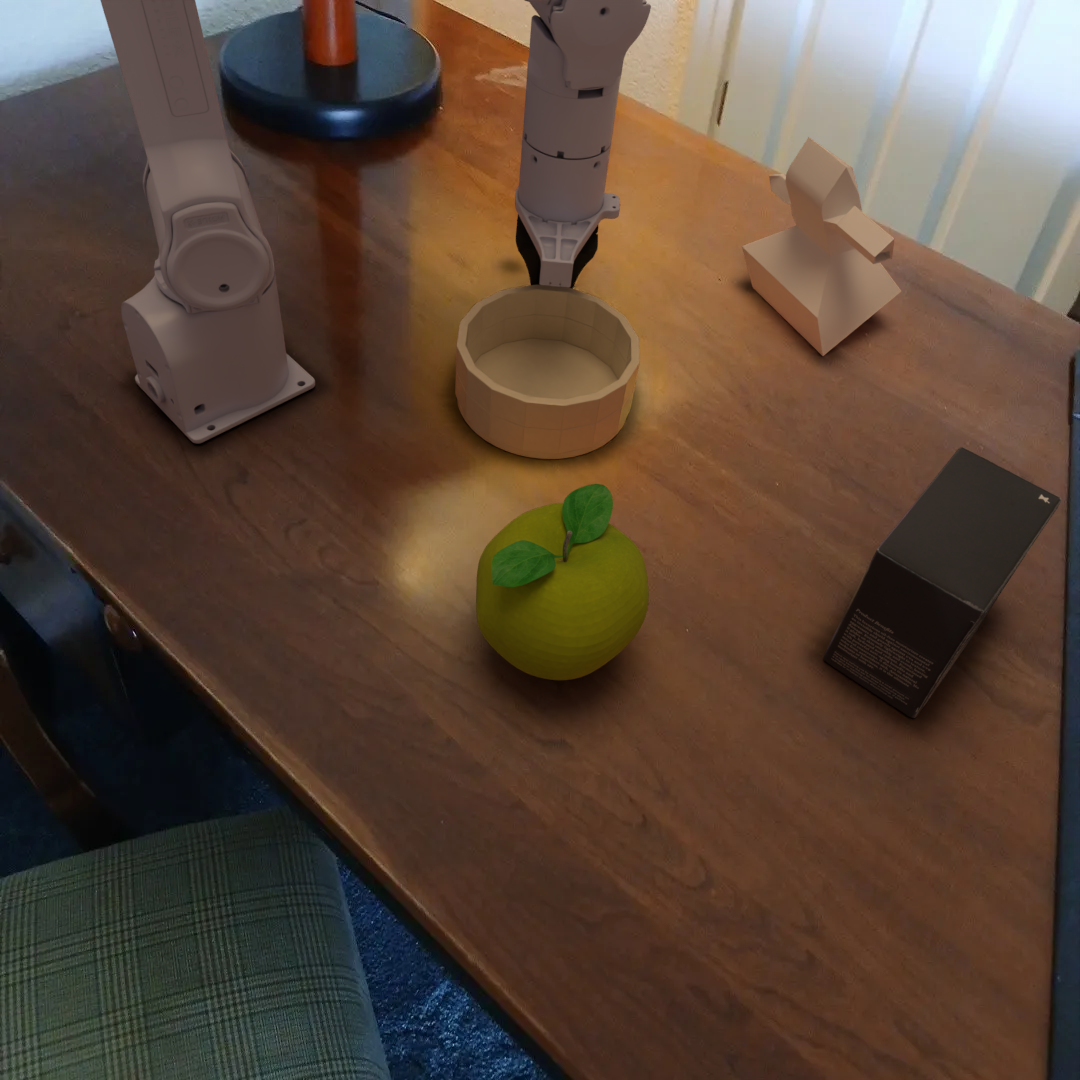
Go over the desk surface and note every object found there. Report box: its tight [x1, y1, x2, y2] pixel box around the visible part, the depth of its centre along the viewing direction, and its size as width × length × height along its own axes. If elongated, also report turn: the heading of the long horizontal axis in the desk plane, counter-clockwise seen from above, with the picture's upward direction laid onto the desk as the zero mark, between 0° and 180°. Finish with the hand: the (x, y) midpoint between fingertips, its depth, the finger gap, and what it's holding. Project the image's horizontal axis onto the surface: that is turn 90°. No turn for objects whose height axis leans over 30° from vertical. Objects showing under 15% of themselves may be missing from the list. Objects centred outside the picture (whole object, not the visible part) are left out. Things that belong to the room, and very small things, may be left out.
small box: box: [822, 446, 1062, 719], centre depth 59 cm, size 11×6×10 cm, turn 141°
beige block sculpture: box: [741, 136, 902, 357], centre depth 78 cm, size 8×14×14 cm, turn 29°
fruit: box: [475, 483, 650, 681], centre depth 57 cm, size 9×9×10 cm
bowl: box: [454, 284, 641, 460], centre depth 72 cm, size 12×12×5 cm
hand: (549, 308), depth 77 cm, fingers closed
